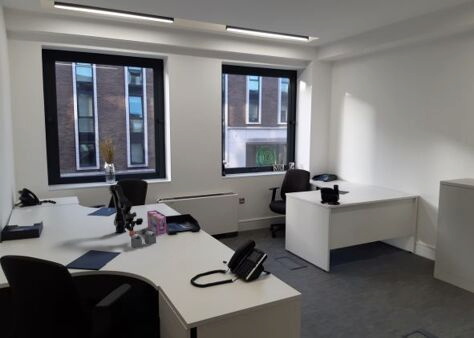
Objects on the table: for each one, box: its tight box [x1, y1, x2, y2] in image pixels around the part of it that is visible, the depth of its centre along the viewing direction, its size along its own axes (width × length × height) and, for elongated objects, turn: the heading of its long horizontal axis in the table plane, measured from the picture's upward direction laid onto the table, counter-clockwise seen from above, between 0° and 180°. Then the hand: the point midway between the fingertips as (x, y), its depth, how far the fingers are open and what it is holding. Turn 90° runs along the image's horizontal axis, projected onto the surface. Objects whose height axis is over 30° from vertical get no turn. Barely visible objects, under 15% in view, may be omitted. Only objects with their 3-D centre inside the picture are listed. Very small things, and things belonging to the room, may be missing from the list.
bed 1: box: [130, 234, 143, 249], centre depth 254 cm, size 6×6×8 cm
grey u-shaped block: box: [143, 230, 157, 246], centre depth 261 cm, size 6×6×8 cm
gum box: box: [146, 209, 167, 235], centre depth 291 cm, size 24×8×14 cm, turn 32°
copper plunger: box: [128, 229, 138, 239], centre depth 257 cm, size 9×5×5 cm, turn 34°
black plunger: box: [141, 227, 153, 236], centre depth 262 cm, size 9×5×5 cm, turn 49°
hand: (132, 233), depth 260 cm, fingers closed, pressing on copper plunger
